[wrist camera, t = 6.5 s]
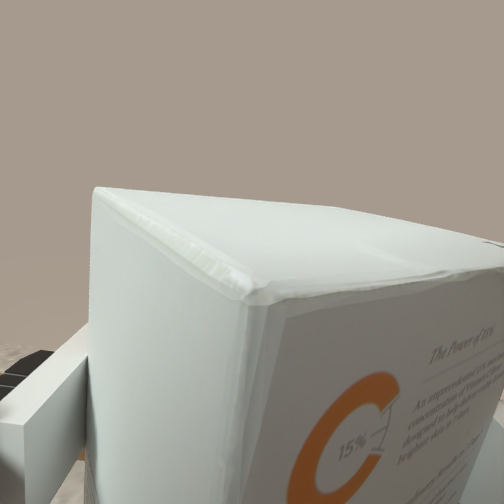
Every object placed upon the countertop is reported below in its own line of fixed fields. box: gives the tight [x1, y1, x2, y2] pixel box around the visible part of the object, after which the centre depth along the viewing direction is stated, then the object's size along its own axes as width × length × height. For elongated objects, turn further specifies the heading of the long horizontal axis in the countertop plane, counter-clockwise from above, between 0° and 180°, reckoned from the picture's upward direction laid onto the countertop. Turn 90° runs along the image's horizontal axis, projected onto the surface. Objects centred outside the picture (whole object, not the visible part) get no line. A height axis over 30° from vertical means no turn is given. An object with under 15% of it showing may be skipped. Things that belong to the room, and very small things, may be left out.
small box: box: [84, 187, 504, 504], centre depth 8 cm, size 8×6×13 cm
